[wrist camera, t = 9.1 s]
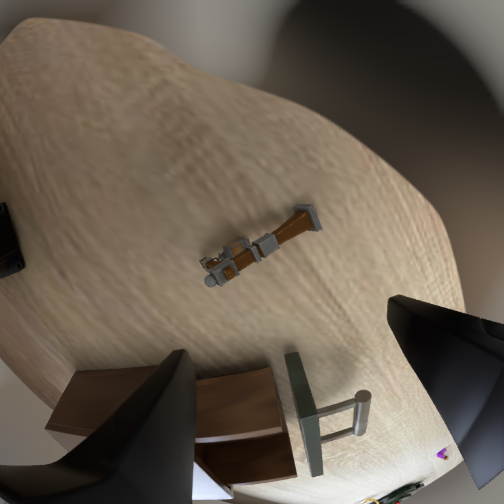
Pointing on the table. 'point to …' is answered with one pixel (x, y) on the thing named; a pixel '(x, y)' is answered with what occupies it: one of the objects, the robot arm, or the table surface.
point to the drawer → (264, 425)
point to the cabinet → (104, 404)
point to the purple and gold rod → (442, 455)
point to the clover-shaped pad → (401, 495)
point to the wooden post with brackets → (258, 246)
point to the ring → (369, 500)
